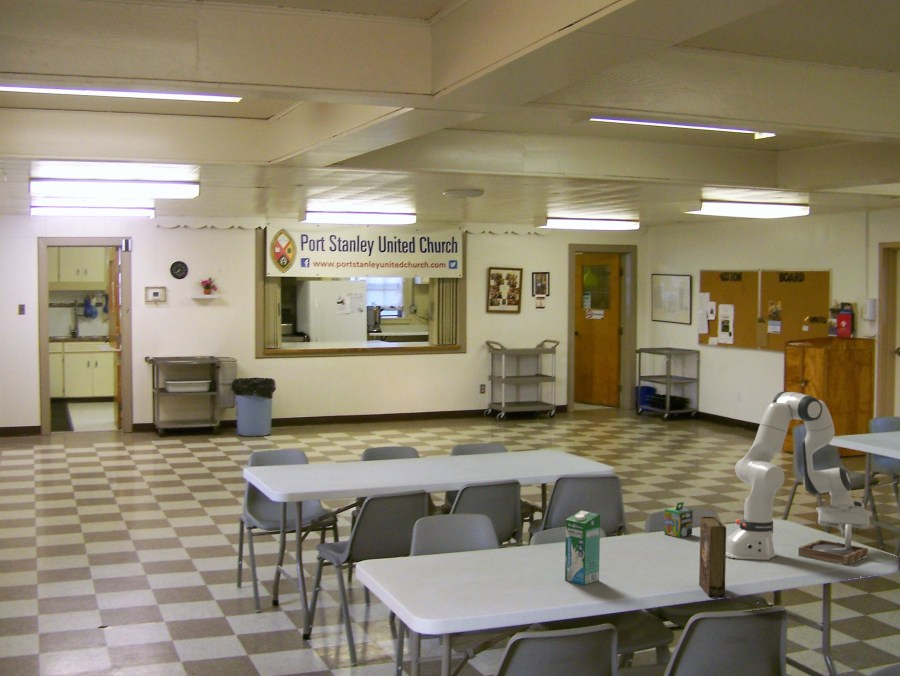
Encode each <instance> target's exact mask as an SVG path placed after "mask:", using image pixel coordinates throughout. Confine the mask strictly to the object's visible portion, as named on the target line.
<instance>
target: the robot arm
mask: <svg viewBox="0 0 900 676" xmlns="http://www.w3.org/2000/svg"><path fill="white" fill-rule="evenodd" d="M792 420H797V421H803V422H804V425H805V430H806V432H805V433H806V434H805V437H803V439H802V440H801V457H802V466H803V467H802V468H803V469H802V470H803V486H804V489H805V492H807V493H808V494H810V495H813V496H817V495H822V494H825V493H826V494H827V493H829V494H828V495H830V499H829V502H830V503H829V504H830V505H819V506H817V507H816V513H817V514H818V519H817V520H818V521H817V522H818V525H819V526H820V527H837V530H838V531H839V532H840V534H841V536H845V529H843V528H845V525H846V524H850V525H852V528H856V529H857V528H858V529H868V528H869V527H870V524H871V523H870V522H871V521H870V516H869V513H868V511H867V509H865V503H863V502H860V501H858V500H854V499H853V498H852V495H851V494H852V491H851V490H852V482H851V476H850V473H849V472H848V471H847V470H846V469H844V468H842V467H833V468H828V469H821V470H815V469H814V464H813V463H814V462H813V455H814V453H816V452H817V451H819V449H822V448H823V447H826V446H827V445H828V444H829V443H830V442H831V441H833V439H834V437H835V433H836V431H835V426H834V421H833V418H832V415H831V412H830V410H829V408H828V407H827V405H826V402H824V401H823V400H821V399H818V398H817V397H814V396H812V395H808V394H804V393H802V392H797V391H795V392H794V391H789V390H785V391H780V392H778V393H776V395H775V396H774V398H773V400H772V402H771V403H770V404H768V405H767V408H766V410H765V411H764V413H763V415H762V417H761V420H760V423H759V426H758V429H757V432H756V436H755V439H754V441H753V443H752V445H751V447H750V449H749V450H748V451H747V453H746V454H745V455H744V456H743V457H742V458H740V459H739V460H738V461H737V462H736V463H735V466H734V473H735V475H736V477H737V478H738V479H739V480H740V481H742V482H743V483H745V484H747V485H750V486H751V490H750V492H749V496H748V497H746V498H745V500H744V509H743V512H744V514H743V515H744V516H743V519H742V520H740V519H739V518H738V519H737V518H736V519H735V521H734V522H735V524H736V525H739V527H738V528H737V529H736V530H735V531H734V532H732V533H730V535H728V536H726V556H727V557H726V558H728V557H730V558H729V559H732V558H735V559H734V560H762V561H764V560H767V561H768V560H771V558H774V557H775V556H776V552H775V548H774V541H773V534H774V521H773V509H774V508H773V507H774V506H773V505H774V500H775V497H776V493H777V491H778V490H779V489H780V488H781V487H782V486H783V484H784V483H785V479H786V478H785V473H784V471H783V469H782V468H781V467H779V466H778V465H776V464H775V463H772V462H771V461H772V459H773V458H774V457H775V456H776V455H777V454H779V453H780V452H781V451H782V450H783V446H784V443H785V441H786V440H785V439H786V437H787V434H788V429H789V426H790V422H791V421H792Z"/></svg>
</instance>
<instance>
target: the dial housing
mask: <svg viewBox="0 0 900 676" xmlns="http://www.w3.org/2000/svg"><path fill="white" fill-rule="evenodd" d="M815 545H838V546H843V547H845V543H840V542H835V541H829V540H825V539H819V540H816V541H813V542H810V543H807V544H804V545H801V546H799V547H798V555H799V556H798V557H802V556H803V557H804V558H807V557H809V558H808V559H812V558H814V559H813V560H817V559H818V561H822V560H823V561H822V562H827V561H828V563H832V562H834V564H837V563H841V564H840V565H842V564H849V563H851V562H853V561H856V560H858V559H860V558H863V557H865V556H869V555H868V552H869V548H868V547H862V546H857V545H852V544H851V549H853V550H854V552H852V553H850V554H847V555H840V554H835V553H830V552H825V551H819V550H814V549H812V547H813V546H815ZM856 562H857V561H856ZM851 564H852V563H851ZM849 565H850V564H849Z"/></svg>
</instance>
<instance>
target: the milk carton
mask: <svg viewBox="0 0 900 676" xmlns="http://www.w3.org/2000/svg"><path fill="white" fill-rule="evenodd" d="M600 540H601V513H597V512H591V511H586V510H579V511H578V512H575V513H574V514H573V515H571V516H569V517H568V518H566V519H565V549H564V550H565V553H564V554H565V555H564V556H565V559H564V560H565V562H564V581H566V580H567V581H566V582H570V581H571V582H570V583H574V582H575V584H577V583H578V585H581V584H582V586H586V584H587V585H589V583H590V584H592V582H593V583H595V582H594V581H596V582H598V581H597V580H599V581H600V553H601V552H600V545H601V543H600V542H601V541H600Z"/></svg>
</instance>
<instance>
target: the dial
mask: <svg viewBox="0 0 900 676" xmlns="http://www.w3.org/2000/svg"><path fill="white" fill-rule="evenodd" d="M844 528H845V529H844V530H845V535H844V544H845V547H843V546H838V545H815V546H813V547H812V549H814V550H819V551H825V552H830V553H835V554H840V555H847V554H850V553H852V552H854V550H853V549H851V545H852V531H853V530H852V528H853V527H852V525H850V524H846V525H845V527H844Z"/></svg>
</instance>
